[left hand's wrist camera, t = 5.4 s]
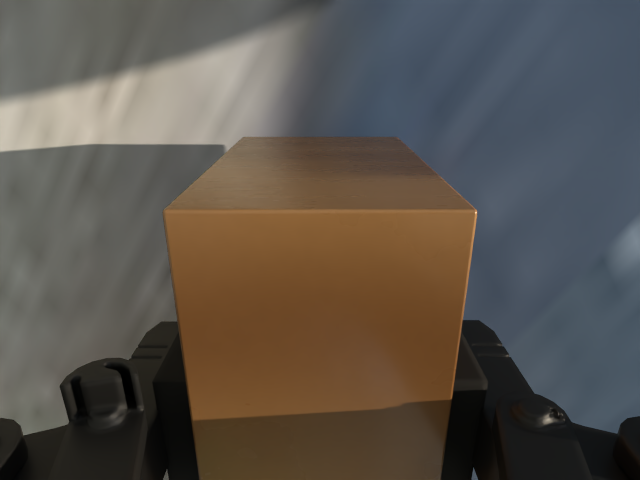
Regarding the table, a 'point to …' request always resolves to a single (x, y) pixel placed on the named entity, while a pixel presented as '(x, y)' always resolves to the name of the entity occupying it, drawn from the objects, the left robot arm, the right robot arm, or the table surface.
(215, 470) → the plank
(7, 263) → the table surface
